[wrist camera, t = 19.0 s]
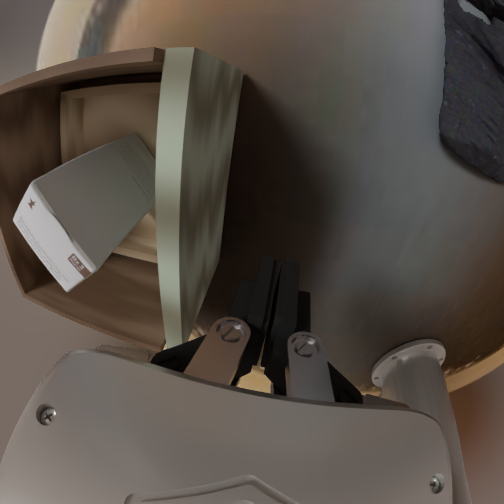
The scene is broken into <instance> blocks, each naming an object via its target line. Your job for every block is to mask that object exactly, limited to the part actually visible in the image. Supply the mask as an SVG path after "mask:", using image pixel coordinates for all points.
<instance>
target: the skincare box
mask: <svg viewBox="0 0 504 504" xmlns="http://www.w3.org/2000/svg"><path fill="white" fill-rule="evenodd" d="M155 171H156V161H155V159H154V158H153V157H152V155H151V154H150V152H149V151H148V149H147V148H146V146H145V145H144V143H143V142H142V140H141V139H140V138H139V136H138V135H137V133H133V134H131V135H128V136H126V137H123V138H120V139H118V140H115V141H113V142H110V143H108V144H105V145H103V146H101V147H98V148H96V149H94V150H92V151H89V152H87V153H85V154H83V155H81V156H79V157H77V158H74V159H72V160H70V161H68V162H66V163H65V164H63V165H61V166H59V167H57V168H55V169H54V170H52V171H50V172H48V173H47V174H45V175H43V176H41V177H39V178H37V179H35V180H33V181H32V182H31V184H30V185H29V187H28V189H27V191H26V193H25V195H24V197H23V199H22V201H21V203H20V205H19V207H18V209H17V211H16V213H15V216H14V218H13V222H14V223H15V225H16V226H17V228H18V229H19V231H20V232H21V234H22V235H23V237H24V238H25V240H26V241H27V242H28V244H29V245H30V247H31V248H32V249H33V251H34V252H35V253H36V255H37V256H38V257H39V259H40V260H41V261H42V263H43V264H44V265H45V266H46V268H47V269H48V270H49V272H50V273H51V274H52V275H53V276H54V278H55V279H56V280H57V281H58V282H59V284H60V285H61V286H62V287H63V288H64V290H65V291H66V292H69V291H71V290H72V289H73V288H74V287H76V286H77V285H78V284H80V283H81V282H82V281H84V280H85V279H86V278H88V277H89V276H91V275H92V274H93V273H95V272H96V271H98V269H99V268H100V267H101V265H102V264H103V263H104V262H105V260H106V259H107V258H108V257H109V255H110V254H111V253H112V252H113V251H114V249H115V248H116V247H117V246H118V245H119V244H120V243H121V241H122V240H123V239H124V238H125V237H126V236H127V235H128V234H129V232H130V231H131V230H132V229H133V228H134V227H135V226H136V225H137V224H138V223H139V221H140V220H141V219H142V218H143V217H144V216H145V215H146V214H147V213H148V212H149V211H150V210H151V209H152V208H153V207H154V206H155Z"/></svg>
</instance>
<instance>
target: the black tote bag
mask: <svg viewBox="0 0 504 504" xmlns="http://www.w3.org/2000/svg"><path fill="white" fill-rule="evenodd" d="M469 1H470V2H472V3H473V5H474V6H475V7H476V8H477V9H479V10H482V11H484V13H485V14H486V15H487V16H488V17H489V18H490V19H491V20H492V23H491V25H487V24H486V23H485V22H483V20H482V19H479V18H478V17H476V16H475V15H472V14H471V13H470V12H464V11H463V9H462V8H461V7H460V5H459V3H458V2H457V0H444V8H445V12H444V19H445V24H444V25H445V30H446V31H445V35H446V45H445V53H444V55H445V63H446V66H445V68H444V87H443V102H442V105H441V109H440V113H439V134H440V137H441V138H442V140H443V141H444V142H445V143H446V145H447V146H448V147H449V148H451V149H452V150H453V151H455V152H456V153H458V154H459V155H460V156H461V157H463V158H464V159H465V160H466V162H467V163H469V164H470V165H472V166H475V167H476V168H478V169H479V170H480V171H481V172H482V173H483V174H486V175H487V176H490V177H493V178H494V179H495V180H496V181H500V182H504V0H469ZM481 20H482V21H481Z"/></svg>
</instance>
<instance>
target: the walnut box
mask: <svg viewBox="0 0 504 504" xmlns="http://www.w3.org/2000/svg"><path fill="white" fill-rule="evenodd" d="M165 51H166V50H163V49H159V48H155V47H152V48H141V49H132V50H125V51H118V52H111V53H106V54H100V55H95V56H90V57H86V58H81V59H77V60H73V61H69V62H65V63H62V64H58V65H55V66H51V67H48V68H45V69H42V70H39V71H36V72H33V73H31V74H28V75H25V76H23V77H20V78H17V79H15V80H13V81H10V82H8V83H6V84H3V85H1V86H0V237H1V240H2V243H3V246H4V249H5V252H6V255H7V258H8V261H9V263H10V266H11V268H12V271H13V274H14V276H15V278H16V281H17V283H18V285H19V288H20V290H21V292H22V295H23V297H25V298H27V299H29V300H31V301H32V302H34V303H36V304H38V305H40V306H43V307H44V308H46V309H48V310H51V311H53V312H55V313H57V314H59V315H61V316H63V317H66V318H68V319H70V320H73V321H75V322H77V323H80V324H82V325H84V326H87V327H89V328H92V329H94V330H97V331H99V332H102V333H104V334H107V335H110V336H112V337H115V338H118V339H121V340H124V341H127V342H130V343H132V344H135V345H139V346H141V347H145V348H148V349H151V350H154V351H157V352H161V351H163V348H164V346H165V344H166V338H165V330H164V322H163V314H162V305H161V296H160V285H159V273H158V263H154V262H150V261H146V260H141V259H137V258H133V257H129V256H125V255H121V254H117V253H113V252H112V253H111V254H110V255H109V257H108V258H107V259H106V260H105V262H104V263H103V264H102V265H101V267H100V268H99V269H98V271H96V272H95V273H93V274H92V275H91V276H89V277H88V278H86V279H85V280H84V281H82V282H81V283H80V284H78V285H77V286H76V287H74V288H73V289H72V290H71V291H69V292H66V291H65V290H64V288H63V287H62V286H61V285H60V284H59V282H58V281H57V280H56V279H55V278H54V276H53V275H52V274H51V273H50V272H49V270H48V269H47V268H46V266H45V265H44V264H43V263H42V261H41V260H40V259H39V257H38V256H37V255H36V253H35V252H34V251H33V249H32V248H31V247H30V245H29V244H28V242H27V241H26V240H25V238H24V237H23V235H22V234H21V232H20V231H19V229H18V228H17V226H16V225H15V223H14V222H13V218H14V216H15V213H16V211H17V209H18V207H19V205H20V203H21V201H22V199H23V197H24V195H25V193H26V191H27V189H28V187H29V185H30V184H31V182H32V181H33V180H35V179H37V178H39V177H41V176H43V175H45V174H47V173H48V172H50V171H52V170H54V169H55V168H57V167H59V166H61V165H62V156H61V136H60V100H61V92H65V91H70V90H76V89H83V88H90V87H98V86H107V85H117V84H131V83H159V82H161V80H162V72H163V65H164V58H165Z"/></svg>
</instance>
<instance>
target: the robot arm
mask: <svg viewBox="0 0 504 504" xmlns="http://www.w3.org/2000/svg"><path fill="white" fill-rule="evenodd" d="M274 258H275V257H273V256H268V255H263V257H262V262H261V266H260V270H259V274H258V278H257V282H255V281H251V280H246V279H240V282H239V285H238V288H237V291H236V294H235V297H234V300H233V304H232V307H231V310H230V313H229V316H228V317H225V318H221V319H219V320H217V321H216V322H215V323H214V324H213V326H212V327H211V329H210V331H209V332H208V334H207V335H204V336H202V337H199V338H196V339H194V340H191V341H188V342H185V343H183V344H180V345H177V346H174V347H172V348H169V349H166V350H163V351H161V352H159V353H157V354H150V352H149V351H145V350H137V349H130V348H124V347H117V346H111V345H101V346H98V347H96V348H95V349H79V350H74V351H70V352H68V353H67V354H65V355H64V356H62V357H61V358H60V359H59V360H58V361H57V362H56V363H55V364H54V365H53V367H52V368H51V369H50V370H49V372H48V373H47V374H46V376H45V377H44V379H43V380H42V382H41V383H40V384H39V386H38V388H37V389H36V391H35V392H34V394H33V396H32V397H31V399H30V401H29V403H28V404H27V406H26V408H25V410H24V412H23V414H22V415H21V418H20V420H19V421H18V423H17V425H16V427H15V429H14V431H13V434H12V436H11V438H10V441H9V443H8V446H7V448H6V451H5V453H4V456H3V458H2V461H1V464H0V504H472V500H471V496H470V492H469V488H468V484H467V479H466V475H465V470H464V464H463V458H462V453H461V447H460V441H459V437H458V431H457V426H456V422H455V417H454V413H453V409H452V405H451V401H450V397H449V393H448V390H447V386H446V383H445V379H444V376H443V373H442V370H441V367H440V366H441V365H442V363H443V361H444V359H445V356H446V352H445V348H444V346H443V344H442V343H441V342H440V341H437V340H434V339H421V340H415V341H412V342H409V343H406V344H403V345H401V346H399V347H397V348H395V349H393V350H391V351H390V352H388V353H387V354H385V355H384V356H383V357H382V358H380V359H379V361H378V362H377V363H376V364H375V365H374V367H373V369H372V371H371V377H372V382H373V383H374V385H376V386H377V387H380V388H381V390H382V393H381V394H380V397H377V396H373V395H370V394H366V395H365V396H364V395H361V393H360V392H359V390H358V389H357V388H356V387H355V386H353V385H352V384H351V383H350V382H349V381H348V380H347V379H346V378H345V377H344V376H343V375H342V374H341V373H340V372H338V371H337V370H336V369H335V368H334V367H333V366H332V365H331V364H330V363H329V362H328V361H327V359H326V354H325V349H324V345H323V343H322V341H321V340H320V339H319V338H318V337H317V336H315V335H314V334H312V333H310V293H309V292H304V291H299V290H298V281H299V262H297V261H292V260H287V262H282V264H281V268H280V272H279V276H278V280H277V284H276V288H275V282H276V276H277V269H278V262H279V261H277V260H274ZM274 289H275V292H274ZM266 331H267V332H266ZM265 335H266V337H265ZM264 338H265V343H264V349H263V355H262V360H261V367H265V370H264V374H265V375H266V376H267V377H268V378H269V380H270V381H271V386H270V388H271V394H270V393H264V392H259V391H254V390H249V389H244V388H239V387H237V386H238V384H239V382H240V378H241V377H242V376H244V375H246V374H248V373H250V372H251V369H252V365H255V366H257V363H258V359H259V356H260V352H261V349H262V345H263V342H264Z"/></svg>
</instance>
